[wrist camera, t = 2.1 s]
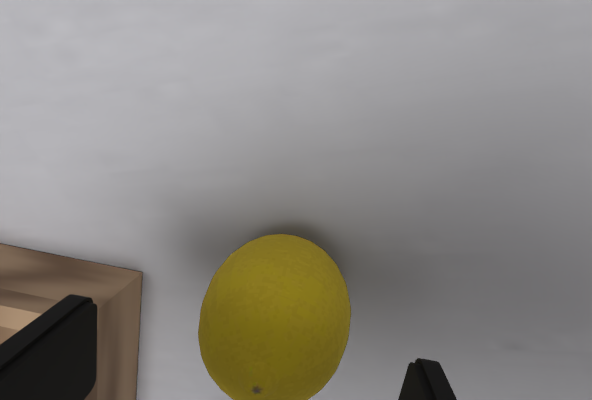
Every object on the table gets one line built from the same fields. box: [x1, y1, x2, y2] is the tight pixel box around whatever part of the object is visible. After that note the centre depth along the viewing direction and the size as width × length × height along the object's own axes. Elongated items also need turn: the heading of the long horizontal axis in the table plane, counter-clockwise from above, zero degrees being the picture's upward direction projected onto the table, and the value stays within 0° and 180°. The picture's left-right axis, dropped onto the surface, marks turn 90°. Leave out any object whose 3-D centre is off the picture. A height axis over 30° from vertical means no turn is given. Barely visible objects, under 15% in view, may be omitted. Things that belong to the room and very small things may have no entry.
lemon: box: [198, 234, 351, 400], centre depth 13 cm, size 6×6×8 cm
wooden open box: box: [0, 244, 142, 400], centre depth 18 cm, size 10×10×4 cm
